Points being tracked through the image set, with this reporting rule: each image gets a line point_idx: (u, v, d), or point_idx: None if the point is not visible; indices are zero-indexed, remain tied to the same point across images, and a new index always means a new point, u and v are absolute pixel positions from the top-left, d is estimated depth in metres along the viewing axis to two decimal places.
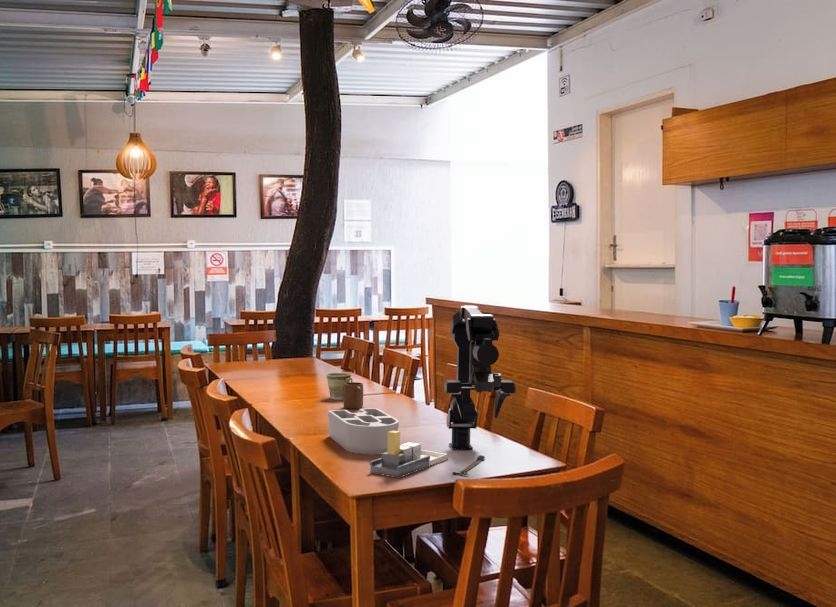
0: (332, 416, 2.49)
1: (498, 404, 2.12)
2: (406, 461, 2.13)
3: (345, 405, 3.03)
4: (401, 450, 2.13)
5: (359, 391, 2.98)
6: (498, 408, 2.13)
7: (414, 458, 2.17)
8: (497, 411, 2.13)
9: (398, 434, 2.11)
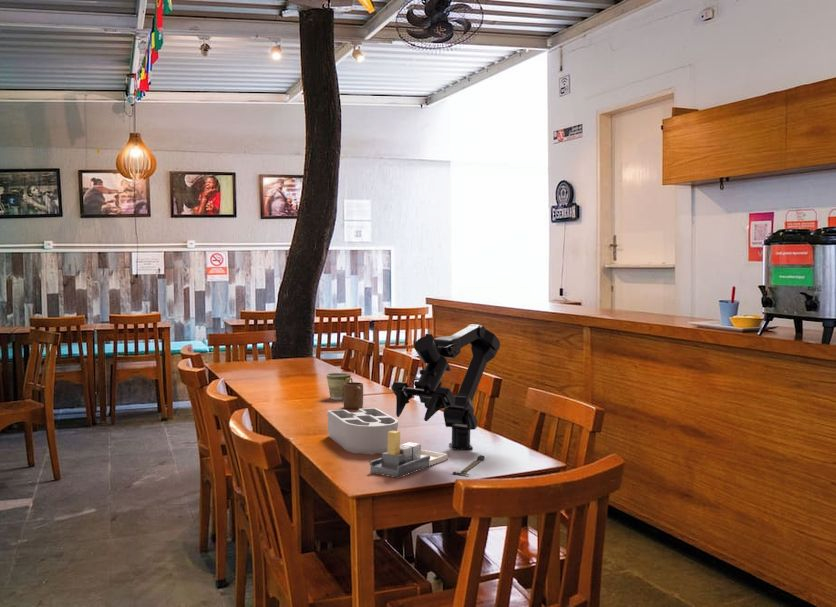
0: (331, 416, 2.49)
1: None
2: (406, 461, 2.13)
3: (345, 405, 3.03)
4: (401, 450, 2.13)
5: (359, 391, 2.98)
6: None
7: (414, 458, 2.17)
8: None
9: (398, 434, 2.11)
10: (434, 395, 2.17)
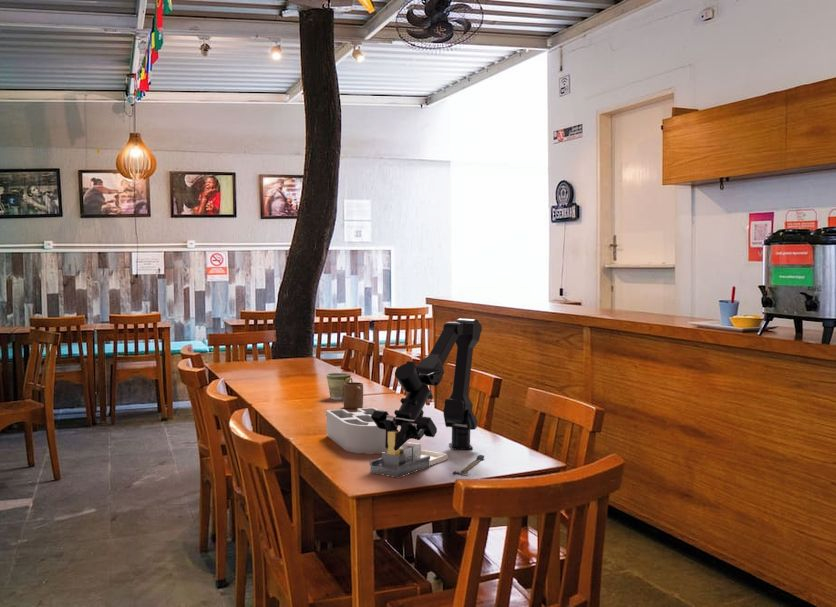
0: (330, 416, 2.49)
1: None
2: (406, 461, 2.13)
3: (345, 405, 3.03)
4: (401, 450, 2.13)
5: (359, 391, 2.98)
6: None
7: (414, 458, 2.17)
8: None
9: None
10: (404, 423, 2.11)
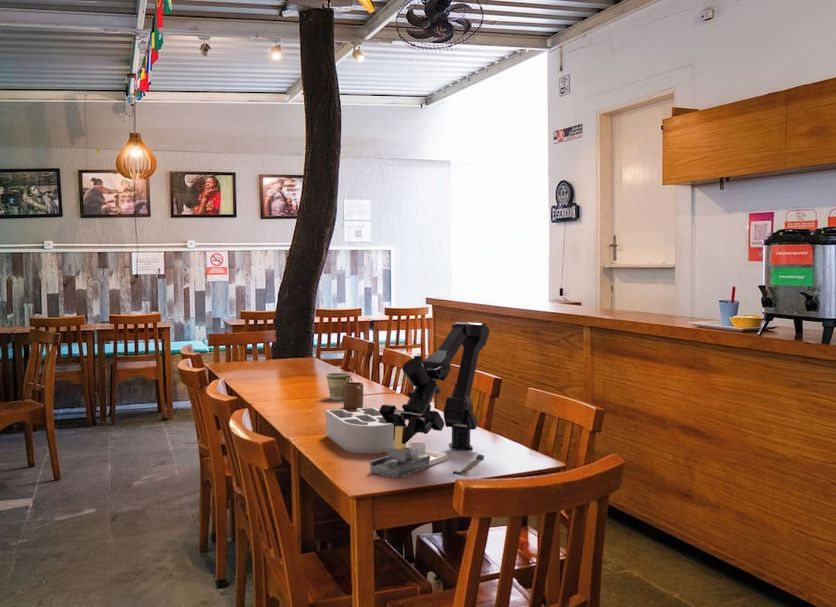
0: (330, 416, 2.49)
1: None
2: (411, 459, 2.16)
3: (345, 405, 3.03)
4: (406, 448, 2.15)
5: (359, 391, 2.98)
6: None
7: (418, 457, 2.18)
8: None
9: (405, 429, 2.14)
10: (412, 417, 2.14)
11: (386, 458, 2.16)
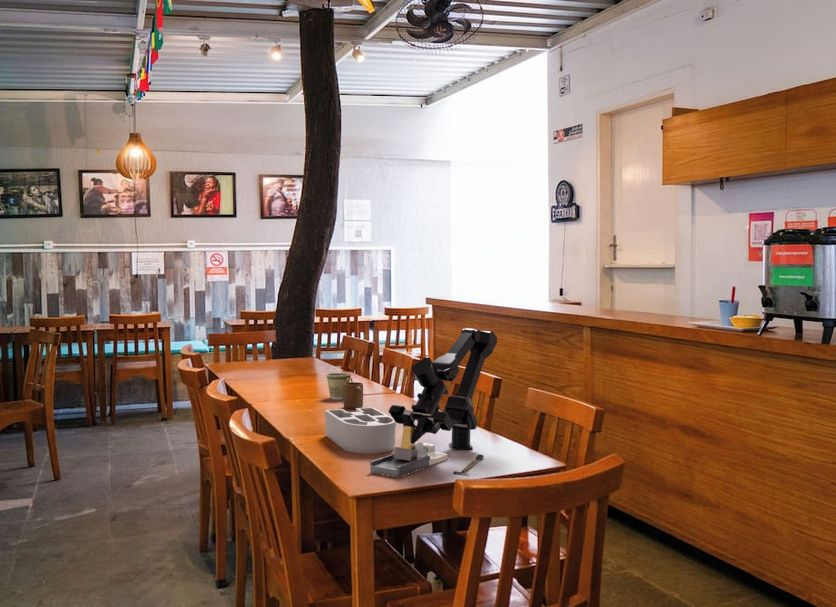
0: (329, 415, 2.50)
1: None
2: (418, 457, 2.18)
3: (345, 405, 3.03)
4: (413, 446, 2.17)
5: (359, 391, 2.98)
6: None
7: (428, 449, 2.23)
8: None
9: (413, 429, 2.17)
10: (421, 418, 2.18)
11: (386, 458, 2.16)
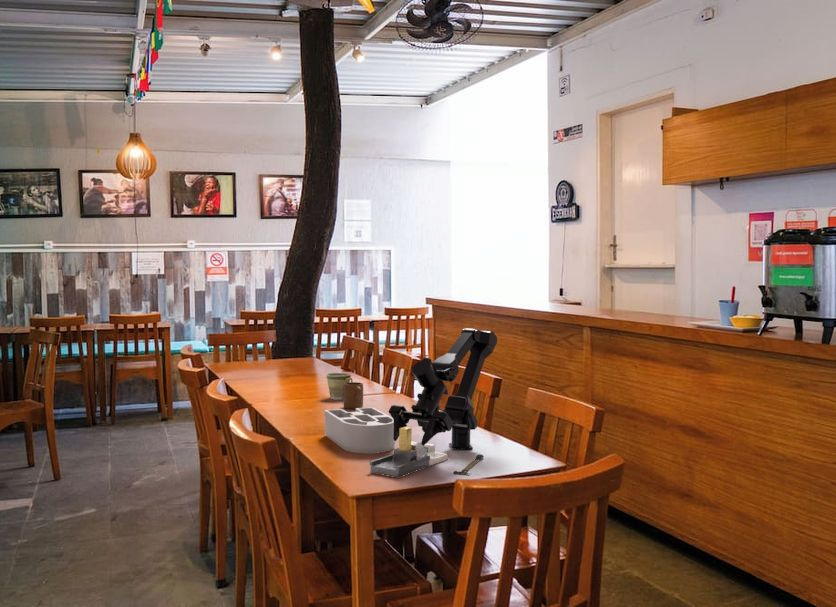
0: (329, 415, 2.50)
1: None
2: (418, 457, 2.18)
3: (345, 405, 3.03)
4: (413, 446, 2.17)
5: (359, 391, 2.98)
6: None
7: (428, 449, 2.23)
8: None
9: (409, 430, 2.16)
10: (431, 419, 2.16)
11: (386, 458, 2.16)
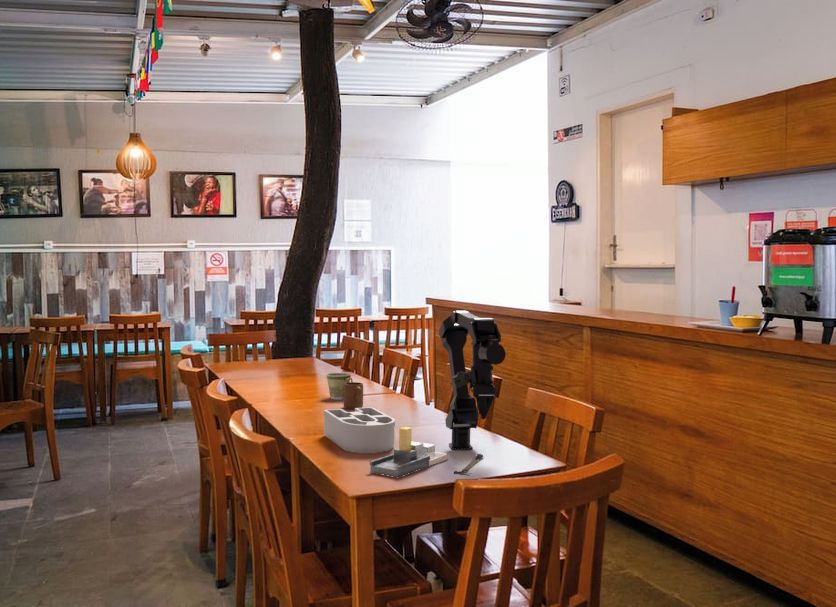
0: (328, 415, 2.50)
1: (479, 405, 2.20)
2: (418, 457, 2.18)
3: (345, 405, 3.03)
4: (413, 446, 2.17)
5: (359, 391, 2.98)
6: (479, 409, 2.20)
7: (428, 449, 2.23)
8: (480, 412, 2.20)
9: (409, 430, 2.16)
10: None
11: (386, 458, 2.16)
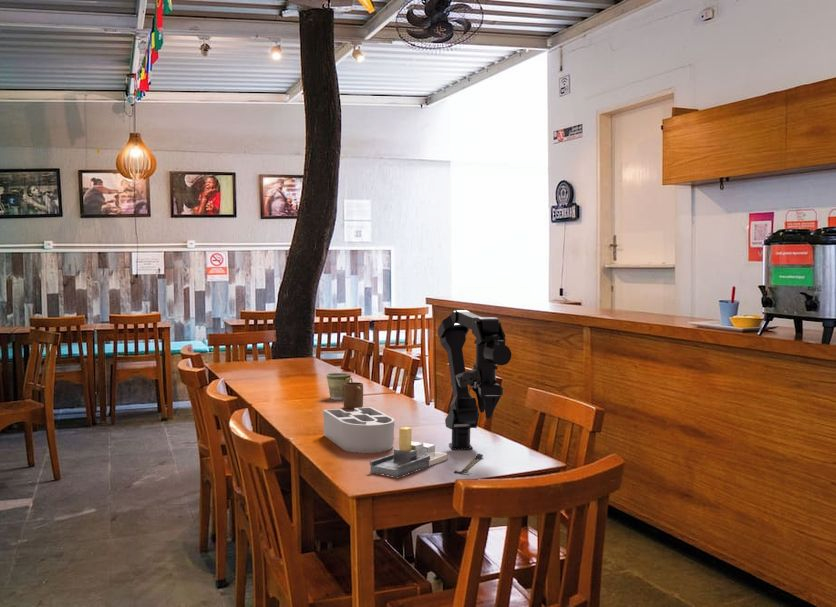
0: (327, 415, 2.50)
1: (484, 404, 2.21)
2: (418, 457, 2.18)
3: (345, 405, 3.03)
4: (413, 446, 2.17)
5: (359, 391, 2.98)
6: (484, 408, 2.21)
7: (428, 449, 2.23)
8: (485, 411, 2.21)
9: (409, 430, 2.16)
10: None
11: (386, 458, 2.16)
